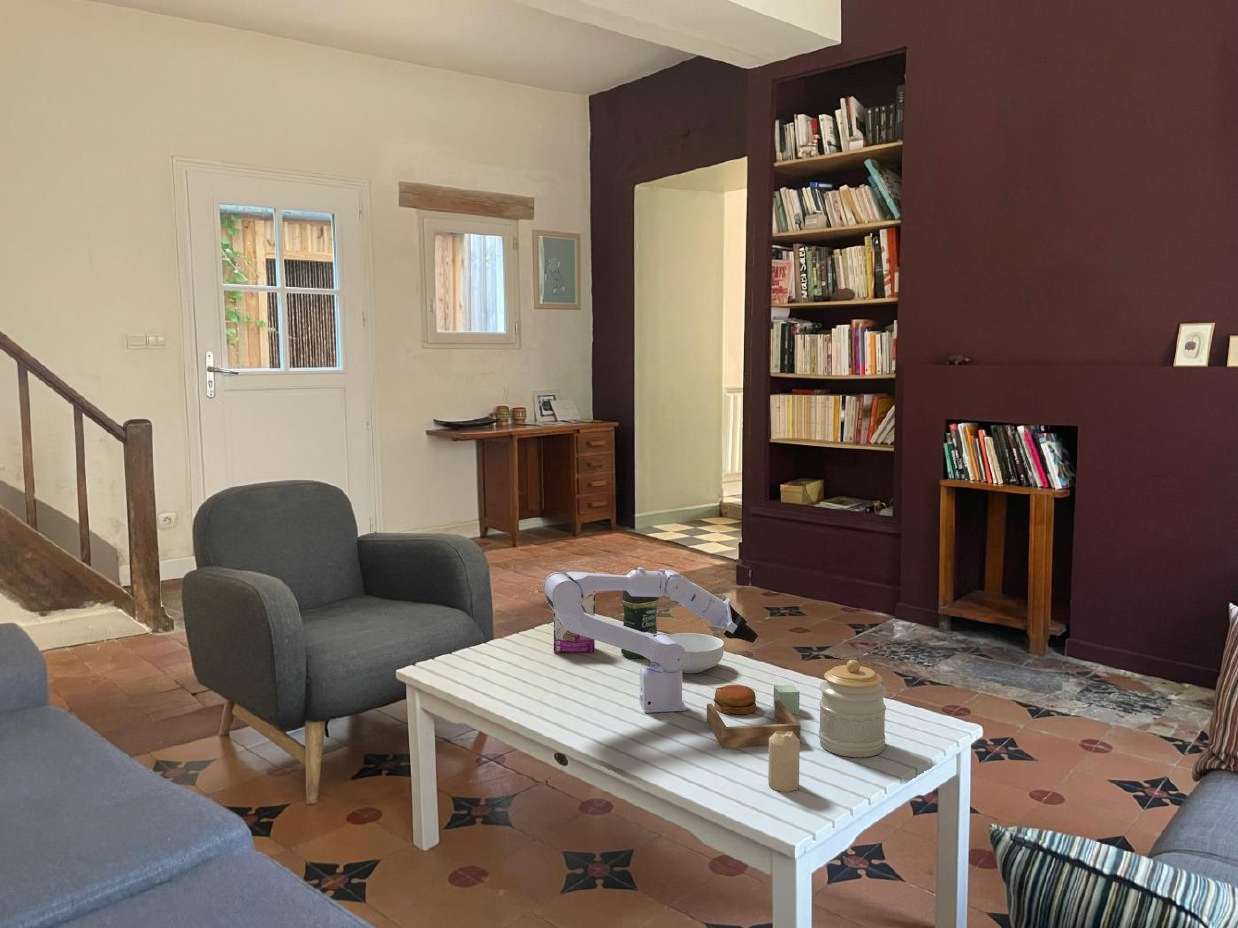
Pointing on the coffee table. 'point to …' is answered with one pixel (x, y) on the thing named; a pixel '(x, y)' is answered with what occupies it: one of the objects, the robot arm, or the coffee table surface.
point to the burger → (735, 699)
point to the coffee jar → (639, 616)
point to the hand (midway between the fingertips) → (749, 631)
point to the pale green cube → (788, 697)
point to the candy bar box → (570, 640)
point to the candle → (784, 761)
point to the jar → (852, 711)
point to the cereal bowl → (699, 651)
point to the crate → (751, 729)
